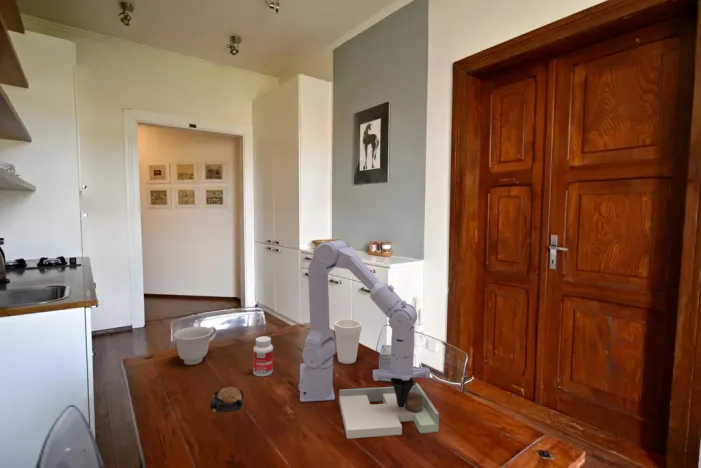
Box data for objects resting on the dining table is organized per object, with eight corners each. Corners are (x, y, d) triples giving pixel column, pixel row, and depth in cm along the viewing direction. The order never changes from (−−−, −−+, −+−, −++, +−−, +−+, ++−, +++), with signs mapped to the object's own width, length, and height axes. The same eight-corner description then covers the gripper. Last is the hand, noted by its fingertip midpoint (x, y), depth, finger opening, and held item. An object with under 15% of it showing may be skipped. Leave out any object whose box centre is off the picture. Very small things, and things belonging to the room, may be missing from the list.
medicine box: (392, 382, 109) (393, 354, 108) (378, 380, 110) (379, 353, 109) (394, 371, 117) (395, 345, 116) (381, 369, 118) (382, 344, 117)
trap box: (347, 438, 82) (347, 419, 81) (338, 401, 97) (339, 385, 97) (438, 431, 85) (439, 413, 85) (416, 397, 100) (417, 382, 100)
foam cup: (365, 359, 125) (367, 323, 124) (348, 368, 118) (349, 329, 117) (345, 352, 131) (346, 317, 130) (328, 359, 124) (328, 323, 123)
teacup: (226, 356, 125) (226, 328, 124) (187, 372, 112) (187, 341, 112) (205, 348, 131) (205, 322, 131) (166, 362, 119) (165, 333, 118)
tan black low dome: (211, 396, 100) (211, 383, 100) (242, 391, 103) (242, 378, 103) (210, 416, 90) (210, 402, 90) (245, 410, 93) (245, 397, 93)
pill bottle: (254, 378, 109) (254, 343, 109) (251, 370, 115) (251, 336, 114) (274, 375, 112) (275, 340, 111) (271, 367, 117) (271, 334, 117)
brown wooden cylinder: (406, 412, 89) (407, 401, 89) (403, 403, 94) (403, 392, 93) (424, 412, 89) (425, 401, 89) (419, 403, 94) (420, 392, 94)
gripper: (377, 361, 85) (376, 415, 86) (435, 358, 87) (433, 412, 88) (371, 349, 92) (370, 400, 93) (425, 347, 94) (423, 397, 95)
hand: (400, 405), depth 91 cm, fingers closed
